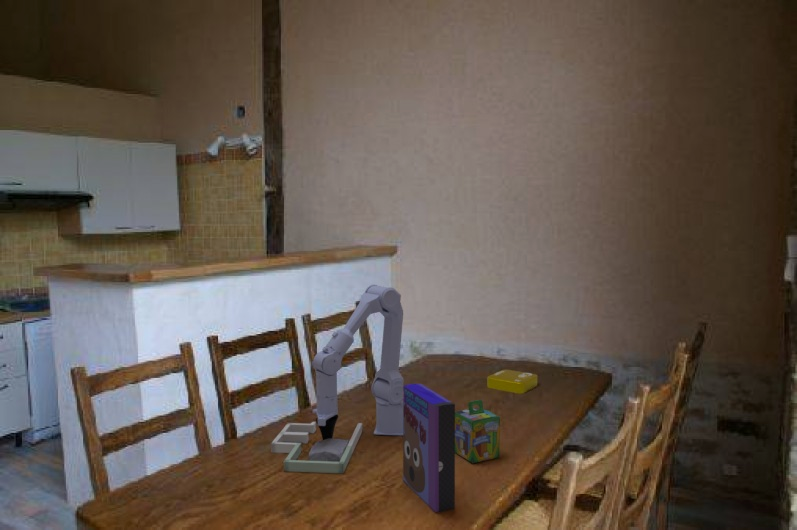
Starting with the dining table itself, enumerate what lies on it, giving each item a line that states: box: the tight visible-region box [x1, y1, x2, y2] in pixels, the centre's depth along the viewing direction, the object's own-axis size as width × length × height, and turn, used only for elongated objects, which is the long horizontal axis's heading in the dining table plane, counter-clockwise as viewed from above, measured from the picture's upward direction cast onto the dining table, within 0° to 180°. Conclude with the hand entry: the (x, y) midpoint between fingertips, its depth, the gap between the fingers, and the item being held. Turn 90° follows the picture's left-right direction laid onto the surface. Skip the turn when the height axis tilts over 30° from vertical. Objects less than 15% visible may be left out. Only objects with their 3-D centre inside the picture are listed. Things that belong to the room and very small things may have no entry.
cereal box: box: [402, 383, 456, 514], centre depth 140 cm, size 17×5×24 cm, turn 23°
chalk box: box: [455, 399, 501, 464], centre depth 163 cm, size 9×9×15 cm
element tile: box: [486, 369, 538, 394], centre depth 228 cm, size 15×15×5 cm
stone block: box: [308, 437, 350, 462], centre depth 162 cm, size 12×5×10 cm
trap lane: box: [270, 421, 363, 474], centre depth 168 cm, size 22×30×2 cm
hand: (327, 442), depth 169 cm, fingers closed
